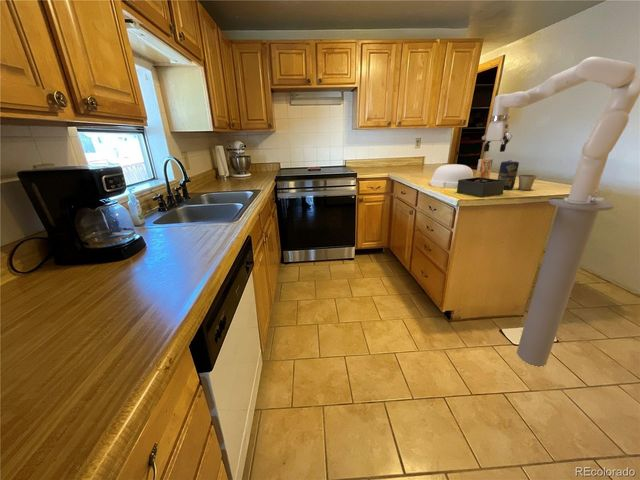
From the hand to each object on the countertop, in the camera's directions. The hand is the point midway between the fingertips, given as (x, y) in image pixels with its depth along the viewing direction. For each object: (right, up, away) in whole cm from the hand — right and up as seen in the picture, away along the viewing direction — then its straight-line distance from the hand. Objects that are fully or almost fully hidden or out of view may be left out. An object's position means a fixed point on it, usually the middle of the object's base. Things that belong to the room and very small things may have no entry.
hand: (493, 151), depth 154 cm
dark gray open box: (-3, -23, +10) cm, 25 cm away
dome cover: (-4, -11, +41) cm, 43 cm away
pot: (-3, -22, +9) cm, 24 cm away
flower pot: (+28, -20, +14) cm, 37 cm away
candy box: (+28, -3, +57) cm, 64 cm away
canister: (+19, -18, +18) cm, 32 cm away
